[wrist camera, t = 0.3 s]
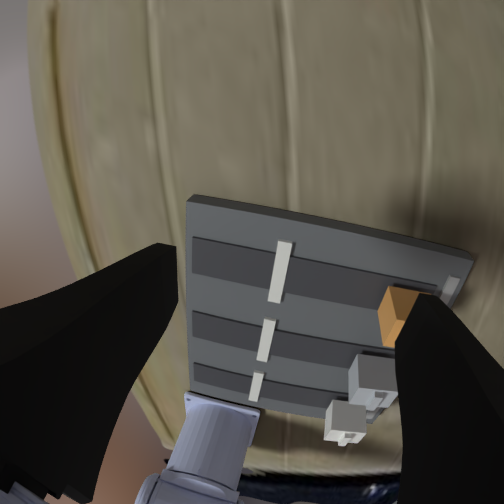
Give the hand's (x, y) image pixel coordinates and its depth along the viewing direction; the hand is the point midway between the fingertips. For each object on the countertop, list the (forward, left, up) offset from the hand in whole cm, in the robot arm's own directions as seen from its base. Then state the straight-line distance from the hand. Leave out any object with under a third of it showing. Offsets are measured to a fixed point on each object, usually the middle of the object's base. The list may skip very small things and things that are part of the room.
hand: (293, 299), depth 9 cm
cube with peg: (-11, -7, -9) cm, 16 cm away
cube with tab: (-17, -7, -9) cm, 21 cm away
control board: (-11, -2, -10) cm, 15 cm away
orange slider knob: (-5, -7, -9) cm, 13 cm away
